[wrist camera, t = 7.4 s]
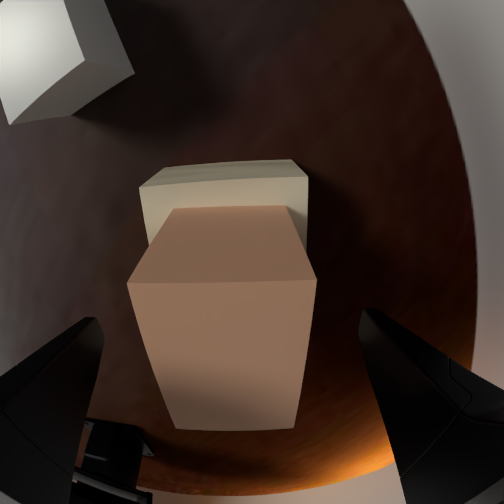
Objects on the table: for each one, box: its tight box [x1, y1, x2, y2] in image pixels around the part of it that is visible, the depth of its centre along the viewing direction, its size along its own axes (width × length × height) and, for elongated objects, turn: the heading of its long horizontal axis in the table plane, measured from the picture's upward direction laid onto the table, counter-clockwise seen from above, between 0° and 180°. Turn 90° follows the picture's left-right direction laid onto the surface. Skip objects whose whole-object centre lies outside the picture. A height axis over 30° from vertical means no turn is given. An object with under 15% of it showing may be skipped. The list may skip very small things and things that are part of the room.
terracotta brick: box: [127, 205, 317, 431], centre depth 10 cm, size 6×4×5 cm, turn 1°
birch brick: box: [139, 160, 308, 252], centre depth 14 cm, size 8×6×4 cm
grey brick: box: [0, 0, 135, 125], centre depth 8 cm, size 6×4×5 cm, turn 22°
